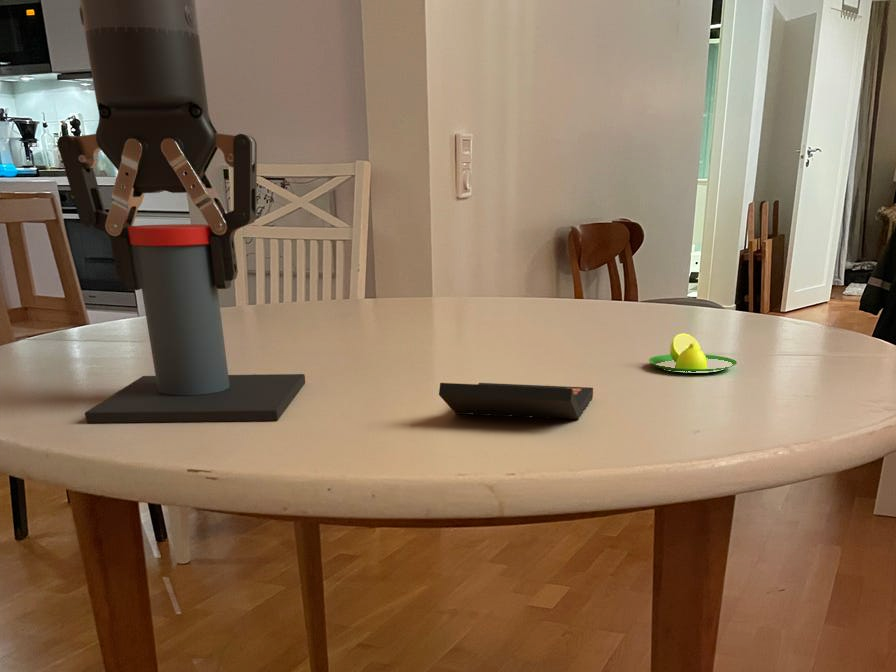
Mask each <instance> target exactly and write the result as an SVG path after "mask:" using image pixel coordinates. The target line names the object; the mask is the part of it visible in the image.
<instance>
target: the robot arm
mask: <svg viewBox="0 0 896 672" xmlns="http://www.w3.org/2000/svg"><path fill="white" fill-rule="evenodd" d="M78 9H79V16H80V21H81V25H82V26H83V29H84V30H83V31H84V35H85V41H86V48H87V52H88V59H89V65H90V70H91V77H92V83H93V89H94V95H95V101H96V106H97V111H98V117H99V118H98V124H97V127H96V131H95V133H92V134H91V133H90V134H85V135H78V136H76V135H62V136H59V137H58V139H57V143H56V144H57V148H58V151H59V155H60V158H61V162H62V166H63V169H64V172H65V175H66V179H67V182H68V185H69V189H70V193H71V195H72V199H73V202H74V205H75V209H76V213H77V215H78V219H79V222H80V224H82V225H83V226H84V227H85V228H86V227H87V228H93V229H96V230H99V231H102V232H104V233H105V234H106V235H107V236H108V237H109V240H110V244H111V250H112V256H113V261H114V268H115V273H116V277H117V279H118V281H119V282H120V283H125V287H126V290H127V291H139V290H142V288H141V281H140V275H139V269H138V262H137V256H136V250H135V245H131V244H130V239H129V233H128V227H130V226H134V223H135V221H136V220H135V219H136V217H137V213H138V211H139V208H140V207H141V206H142V203H143V201H144V197H145V194H157V193H159V194H160V193H162V192H167V193H168V192H169V193H172V194H185V193H187V194H188V196H189V198H190V199H191V201H192V202H193V204H194V206H195V207H197V209H198V210H199V211H200V213H201V215H202V217H203V218H204V220H205V222H206V223H207V225H209V226H210V228H211V230H212V231H213V236H210V243H211V251H212V259H213V267H214V274H215V282H216V287H217V289H218V290H228V289H230V288H231V287H232V281H235V280H236V279H237V276H238V272H239V270H238V262H237V252H236V244H235V234H236V232H237V231H238V230H240V229H242V228H245V227H246V226H249V225H252V224H253V223H255V222H256V219H257V192H258V191H257V189H258V188H257V187H258V185H257V184H258V183H257V178H258V177H257V176H258V174H257V173H258V172H257V171H258V170H257V169H258V165H257V164H258V162H257V161H258V144H257V141H256V139H255V138H254V136H252V135H248V134H244V133H238V134H236V135H233V134H225V133H219V132H218V131H217V129H216V128H215V126H214V124H213V123H212V120H211V117H210V114H209V105H208V97H207V88H206V81H205V72H204V64H203V57H202V56H203V55H202V47H201V39H200V30H199V23H198V15H197V6H196V0H79V8H78ZM218 149H219V150H220V151H221V152H222V154H223V159H224V162H225V164H226V165H228V167H231V168H232V169H233V170H232V171H233V172H232V175H233V176H232V177H233V178H232V179H233V181H232V183H233V186H232V187H233V188H232V189H233V190H232V191H233V195H232V196H233V199H232V200H233V210H231V211H229V212H228V211H227V209H226V207H225V205H224V204H223V202H222V200H221V197H220V194H219V192H218V191H217V189H216V187H215V186H214V184H213V182H212V180H211V179H210V176H209V175H208V174H207V170H208V169H209V166H210V164H211V162H212V160H213V158H214V157H215V155H216V153H217V151H218ZM100 151H101V152H102V153H103V154H104V156H105V157H106V158H107V159H108V160H109V162H111V164H112V166H114V168H115V169H116V171H117V174H116V177H115V181H114V185H113V189H112V191H111V195H110V199H111V203H110V206H109V210H108V211H106V208H105V206H104V201H103V198H102V194H101V192H100V188H99V184H98V180H97V177H96V173H95V170H94V169H95V168H96V167H97V166H98V164H99V153H100Z"/></svg>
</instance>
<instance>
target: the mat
mask: <svg viewBox="0 0 896 672" xmlns="http://www.w3.org/2000/svg"><path fill="white" fill-rule="evenodd" d="M228 376H229V384H230V387H229V388H228V389H227V390H224V391H222V392H218V393H213V394H206V395H196V396H173V395H166V394H162V393H160V392H158V388H157V382H156V375H142V376H140V377H139V378H137V379H135V380H134V381H133V382H131V383H129V384H127V385H126V386H125V387H122V388H121V389H120V390H118V391H116V392H115V393H113V394H112V395H110V396H108V397H107V398H106V399H104V400H102V401H100V402H99V403H98V404H96V405H95V406H92V408H89V409H88V410H86V411H85V412H84V416H85V422H86V423H87V424H114V423H115V424H117V423H118V424H119V423H120V424H123V423H124V424H125V423H196V422H197V423H199V422H201V423H203V422H205V423H207V422H209V423H210V422H276V421H279V419H280V418H281V417H282V416H283V414H284V412H286V410H287V409H288V408H289V406H290V405H291V403H292V402H293V401H294V399H295V398H296V396H297V395H298V394H299V392H300V391H301V390H302V389H303V387H304V386H305V385H306V375H305V373H293V374H292V373H282V374H281V373H280V374H279V373H275V374H274V373H273V374H271V373H269V374H228Z"/></svg>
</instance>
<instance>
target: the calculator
mask: <svg viewBox="0 0 896 672" xmlns="http://www.w3.org/2000/svg"><path fill="white" fill-rule="evenodd" d="M438 396H439V397H440V399H442V400H443V402H445V404H446V405H447V406H448V407H449V408H450V409H451V410H452V412H454V414H456V413H473V414H472V415H475V414H490V415H489V416H495V415H512V416H511V417H514V416H532V417H531V418H534V417H550V418H549V419H553V418H568V419H567V420H573V419H579V417H580V416H581V414H582V413H583V411H584V410H585V408H586V407H587V408H588V406H589V405H590V403H591V402H592V400H593V399H592V398H594V387H587V386H585V387H584V386H566V385H565V386H564V385H541V384H540V385H539V384H520V383H519V384H518V383H517V384H516V383H514V384H513V383H497V382H496V383H493V382H478V383H477V384H475V383H457V382H456V383H455V382H454V383H453V382H452V383H451V382H439V390H438ZM591 399H592V400H591ZM590 401H591V402H590ZM589 402H590V403H589ZM588 404H589V405H588ZM587 405H588V406H587ZM587 408H586V409H587ZM585 411H586V410H585ZM585 411H584V412H585ZM583 414H584V413H583ZM583 414H582V415H583ZM581 417H582V416H581ZM581 417H580V418H581ZM579 420H580V419H579Z"/></svg>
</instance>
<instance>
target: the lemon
mask: <svg viewBox="0 0 896 672" xmlns="http://www.w3.org/2000/svg"><path fill="white" fill-rule="evenodd" d="M669 353H670V354H661V355H660V354H659V355H656V356H652V357H650V358H649V359H648V362H649V363H651V364H652V365H654V366H656V367H657V368H659V369H660V368H662V369H665V370H671V371H685V372H686V371H687V372H688V371H691V372H696V371H713V370H721V369H726V368H728V369H730V368H732V367H733V366H736V365H737V364H738V361H736V360H735V359H733V358H730V357H726V356H720V355H716V354H715V355H714V354H705V353H704V352H703V350H702V349H701V346H700V343H699V341H697V339H696V338H695V337H693V336H692V335H691V334H688V333H678V334H676V335H675V336H674V337H673V338H672V341H671V344H670V347H669ZM706 358H708V359H718V360H724V361H728V362H731V363H732V364H733V366H730V368H729V367H725V368H716V369H706V368H707V359H706ZM672 360H674V362H676V365H675V368H671V367H665V366H659V365H656V364H657V363H661V362H665V361H672ZM662 369H661V370H662ZM665 370H664V371H665ZM726 370H727V369H726Z"/></svg>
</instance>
